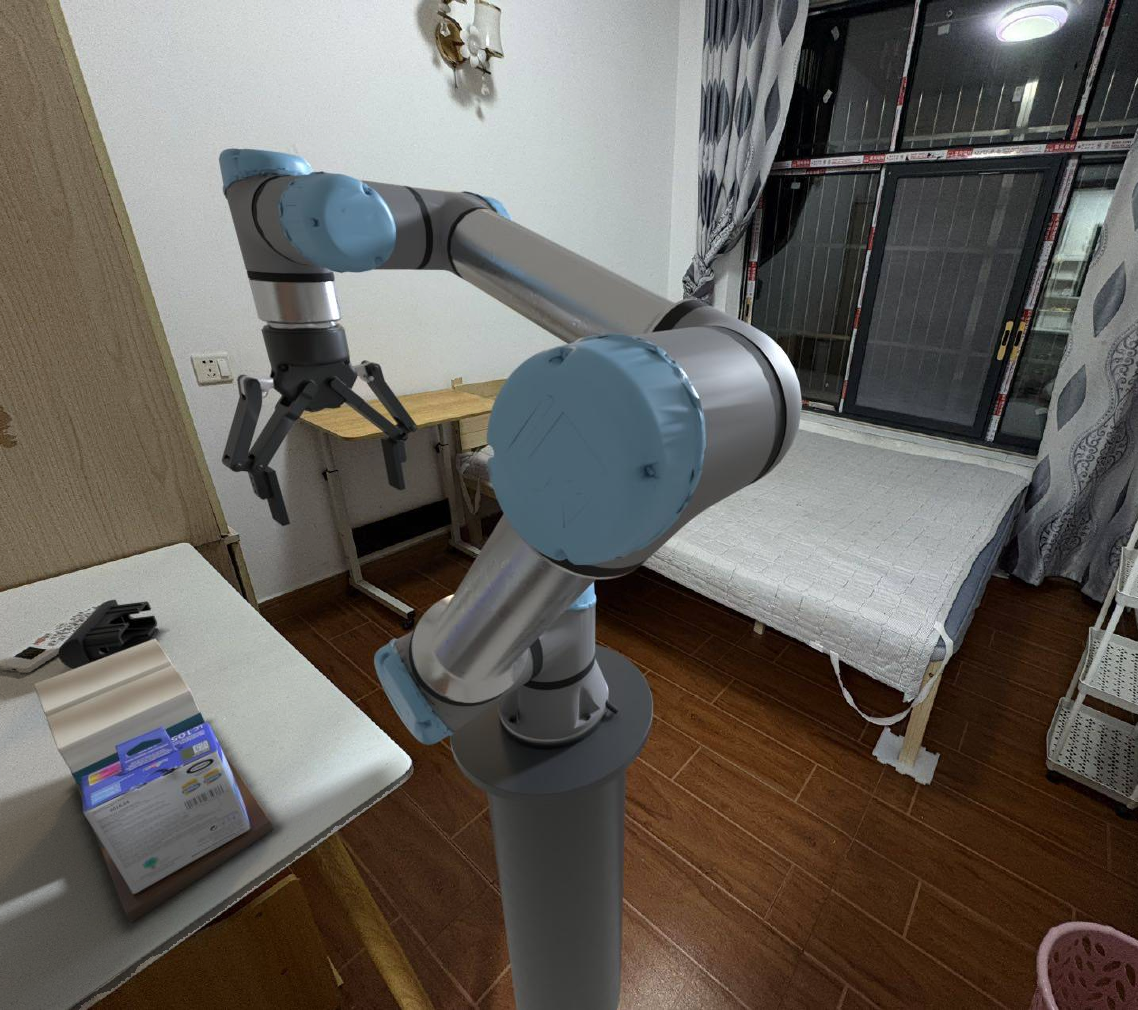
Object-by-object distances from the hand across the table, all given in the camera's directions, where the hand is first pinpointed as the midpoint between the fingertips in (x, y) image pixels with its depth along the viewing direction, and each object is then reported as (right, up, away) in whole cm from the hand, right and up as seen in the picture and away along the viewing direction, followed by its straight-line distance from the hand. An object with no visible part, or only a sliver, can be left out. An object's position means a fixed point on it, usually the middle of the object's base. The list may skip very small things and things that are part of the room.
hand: (343, 503), depth 67 cm
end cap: (-45, -23, +17) cm, 54 cm away
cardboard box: (-17, -35, -4) cm, 39 cm away
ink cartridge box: (-11, -36, -9) cm, 39 cm away
